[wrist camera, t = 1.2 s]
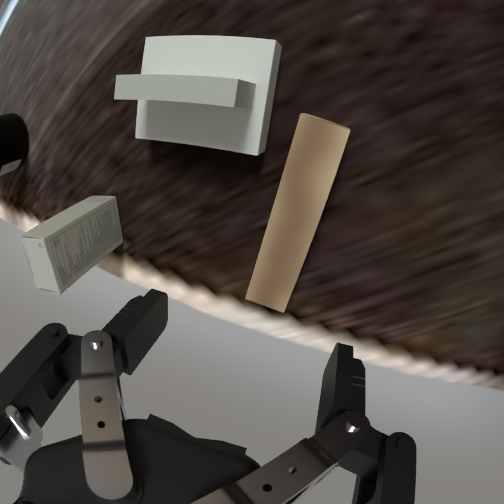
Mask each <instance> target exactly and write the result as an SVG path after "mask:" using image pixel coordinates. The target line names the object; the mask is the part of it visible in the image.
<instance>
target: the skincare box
mask: <svg viewBox="0 0 504 504" xmlns="http://www.w3.org/2000/svg"><path fill="white" fill-rule="evenodd" d="M20 238H21V242H22V245H23V249H24V252H25V255H26V258H27V262H28V265H29V268H30V271H31V274H32V276H33V279H34V282H35V285H36V287H37V288H40V289H42V290H45V291H49V292H52V293H55V294H59V295H60V294H62V293H63V292H64V291H65V290H66V289H67V288H68V287H70V286H71V285H72V284H73V283H74V282H75V281H77V280H78V279H79V278H80V277H81V276H82V275H83V274H85V273H86V272H87V271H88V270H90V269H91V268H92V267H93V266H94V265H96V264H97V263H98V262H99V261H100V260H102V259H103V258H104V257H105V256H107V255H108V254H109V253H110V252H112V251H113V250H114V249H115V248H117V247H118V246H119V245H120V244H122V243H123V237H122V231H121V225H120V219H119V212H118V206H117V200H116V197H115V196H90V197H88V198H86V199H84V200H83V201H81V202H79V203H77V204H75V205H73V206H71V207H69V208H68V209H66V210H64V211H62V212H60V213H58V214H57V215H55V216H53V217H51V218H50V219H48V220H46V221H44V222H43V223H41V224H39V225H38V226H36V227H34V228H33V229H31V230H29V231H28V232H26V233H25V234H23V235H22V236H21V237H20Z"/></svg>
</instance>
